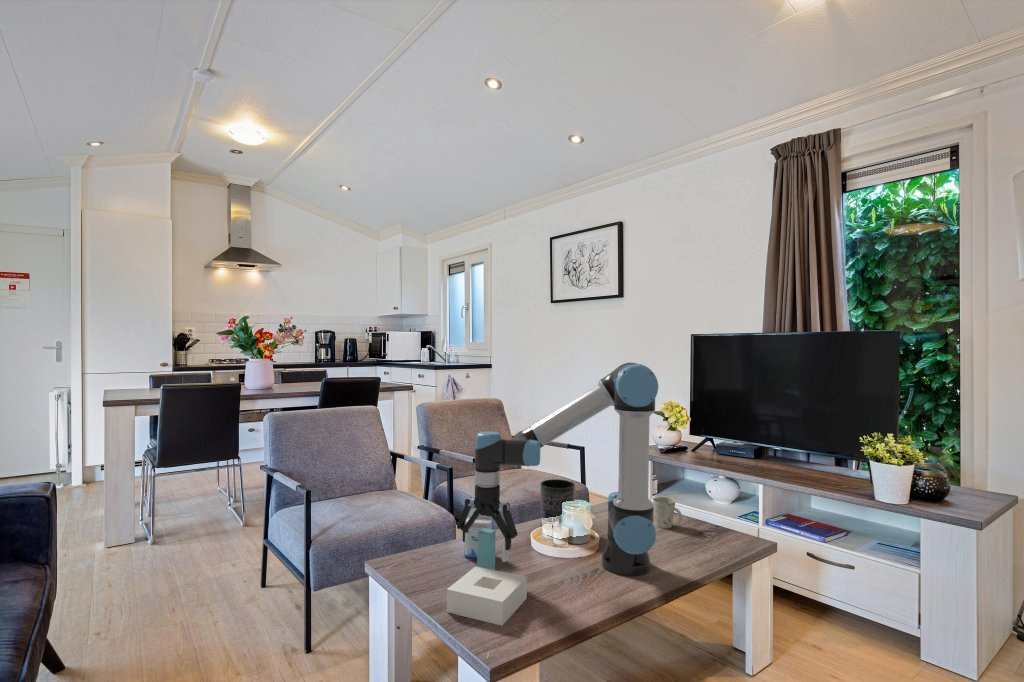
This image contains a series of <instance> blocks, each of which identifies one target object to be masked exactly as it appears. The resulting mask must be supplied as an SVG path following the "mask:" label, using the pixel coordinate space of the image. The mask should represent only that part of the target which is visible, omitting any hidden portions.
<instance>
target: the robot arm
mask: <svg viewBox="0 0 1024 682" xmlns="http://www.w3.org/2000/svg"><path fill="white" fill-rule="evenodd" d="M658 393H659V381H658V378H657V376H656V374H655V373H654V372H653V370H652V369H651V368H649V367H648V366H646V365H644V364H642V363H640V364H639V363H637V362H626V363H625V362H624V363H622V364H621V365H619V366H617V367H616V368H615V369H614V370H613V371H611V372H610V373H608V374H607V375H606V376H604V377H603V378H601V379H599V380H598V384H597V385H596V386H593V388H591V389H589V390H587V391H586V392H585V393H583V394H581V395H579V396H577V398H574V399H573V400H571V401H570V402H568V403H566V404H565V405H563V406H561V407H559V408H558V409H557V410H555V411H553V412H552V413H550V414H548V415H546V416H545V417H543V418H542V419H540V420H538V421H537V422H536V423H534V424H532V425H531V426H529V427H527V428H526V429H524V430H519V431H518V432H516V433H515V434H514V436H513V437H512V439H503V438H502V437H501V436H502V435H501V433H500V432H498V431H491V430H490V431H488V430H487V431H479V432H478V433H477V434H476V435H475V436H476V437H475V447H474V460H475V461H474V467H475V468H474V483H475V485H474V498H473V497H468V498H466V499H465V500H464V507H463V510H462V513H461V515H460V517H459V520H458V522H457V526H456V528H457V529H458V530H460V531H462V543H464V551H465V554H466V555H467V554H469V553H470V552H471V533H472V530H469V531H468V529H470V527H471V526H472V524H473V523H474V522H475V520H476V519H477V517H478V516H479V515H480V514H481V515H482V516H484V515H486V516H488V517H492V521H493V520H494V522H495V523H496V525H497V527H498V529H499V530H500V532H501V534H502V536H503V537H504V538H502V540H501V541H502V544H501V545H502V549H501V552H502V555H501V562H503V563H505V562H506V561H507V560H508V559H509V551H510V550H511V549H512V539H515V538H516V537H517V536H518V531H517V528H516V525H515V522H514V518H513V516H512V514H511V510H510V508H511V507H510V506H511V505H510V503H509V502H506V503H501V501H500V496H501V489H500V488H501V485H500V482H501V466H518V467H519V466H521V467H534V466H535V467H537V466H539V465H540V464H541V448H544V447H545V446H547V445H548V444H549V443H551V442H553V441H555V440H556V439H559V438H560V437H561V436H563V435H565V434H566V433H568V432H569V431H571V430H573V429H574V428H577V427H578V426H579V425H581V424H583V423H584V422H586V421H588V420H590V419H591V418H592V417H594V416H596V415H597V414H600V413H601V412H602V411H604V410H607V409H608V408H610V407H612V406H613V408H614V411H615V412H616V413H617V414H618V415H619V421H618V422H619V423H618V425H619V427H618V431H619V432H618V485H617V487H618V490H617V491H614V492H613V491H612V492H610V493H609V495H608V499H607V502H606V503H607V540H606V543H605V546H604V549H603V552H602V554H601V565H602V567H603V568H604V569H605V570H607V571H608V572H611V573H614V574H618V575H623V576H640V575H643V574H646V573H648V572H649V571H650V569H651V559H650V555H649V550H650V549H651V548H652V547H653V546H654V544H655V543H656V539H657V530H656V527H655V525H654V506H653V501H651V499H649V476H650V475H649V474H650V473H649V472H650V471H649V470H650V468H649V467H650V417H651V416H652V415H653V414H654V413H655V412H656V398H657V395H658ZM472 506H474V508H476V510H475V512H474V513H473V515H472V516H471V518H470V519H469V520H468V522H467V523H466V524H465V522H466V519H467V517H468V514H469V512H470V509H471V508H472ZM499 509H500V510H501V511H500V510H499ZM501 512H502V513H501ZM502 514H503V517H502ZM503 518H504V519H503Z"/></svg>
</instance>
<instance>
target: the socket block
mask: <svg viewBox="0 0 1024 682" xmlns="http://www.w3.org/2000/svg"><path fill="white" fill-rule="evenodd" d="M527 587H528V577H527V576H524V575H520V574H515V573H509V572H505V571H500V570H496V569H495V570H491V569H486V568H481V567H477V565H476V566H474V567H473V568H471V569H469V571H468V572H466V573H465V574H464V575H463V576H462V577H460V578H459V579H457V581H456V582H454V583H453V584H451V585H450V586H449V587H448V588H447V589H446V613H450V614H453V615H457V616H461V617H465V618H470V619H474V620H477V621H481V622H486V623H489V624H494V625H496V626H504V625H505V623H506V622H507V621H508V620H509V619H510V618H511V617H512V616H513V614H514V613H515V612H516V611H517V610H518V609H519V608H520V606H521V605H522V604H523V603H524V602H525V601H527V598H528V597H527V596H528V593H527V592H528V588H527Z"/></svg>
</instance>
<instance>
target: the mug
mask: <svg viewBox="0 0 1024 682" xmlns="http://www.w3.org/2000/svg"><path fill="white" fill-rule="evenodd" d="M652 503H653V516H654V522H655V523H654V524H655V526H656V527H657V528H660V529H670V528H672V526H675V527H677V526H680V525H681V523H682V522H683V514H682V512H681V510H680V509H679V508H676V507H675V506H676V500H675V499H673V498H672V497H665V496H657V497H653V499H652ZM674 513H677V515H678V517H679V518H678V521H677V522H673V521H674V520H673V519H674V515H675V514H674Z"/></svg>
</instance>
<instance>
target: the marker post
mask: <svg viewBox="0 0 1024 682" xmlns="http://www.w3.org/2000/svg"><path fill="white" fill-rule="evenodd" d="M476 567H481V568H486V569H491V570H496V529H493V528H492V529H487V528H483V529H481V530H480V531H479V532H478V542H477V558H476Z"/></svg>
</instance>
